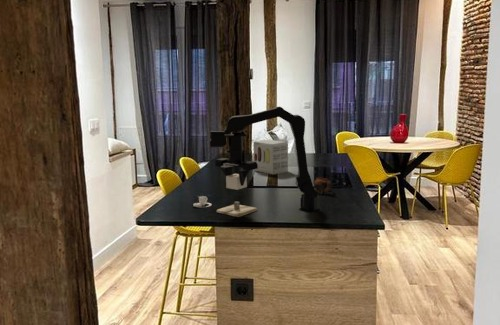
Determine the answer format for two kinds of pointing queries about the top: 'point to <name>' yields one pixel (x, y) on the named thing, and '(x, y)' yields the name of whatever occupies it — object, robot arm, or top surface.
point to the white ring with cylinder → (202, 202)
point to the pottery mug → (322, 185)
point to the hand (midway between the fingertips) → (236, 184)
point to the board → (236, 210)
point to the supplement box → (271, 156)
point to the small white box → (235, 182)
